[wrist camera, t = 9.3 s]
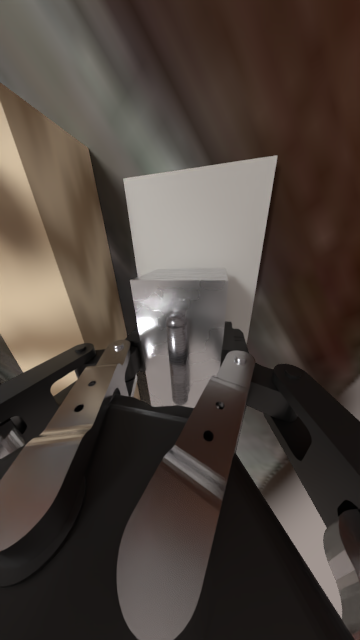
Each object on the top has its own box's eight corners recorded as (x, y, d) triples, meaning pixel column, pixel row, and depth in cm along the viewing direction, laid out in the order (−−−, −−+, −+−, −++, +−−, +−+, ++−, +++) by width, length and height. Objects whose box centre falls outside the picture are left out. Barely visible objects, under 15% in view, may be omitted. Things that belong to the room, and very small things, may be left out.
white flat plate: (128, 182, 11) (123, 178, 10) (274, 160, 9) (277, 155, 8) (157, 392, 19) (155, 396, 19) (235, 405, 17) (235, 410, 17)
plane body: (-1, 166, 12) (-589, -47, 3) (88, 148, 10) (-651, -403, 2) (88, 390, 22) (1, 486, 13) (140, 400, 20) (80, 517, 12)
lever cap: (158, 268, 11) (120, 283, 7) (225, 268, 10) (229, 284, 6) (167, 368, 15) (147, 418, 11) (216, 375, 14) (215, 432, 10)
